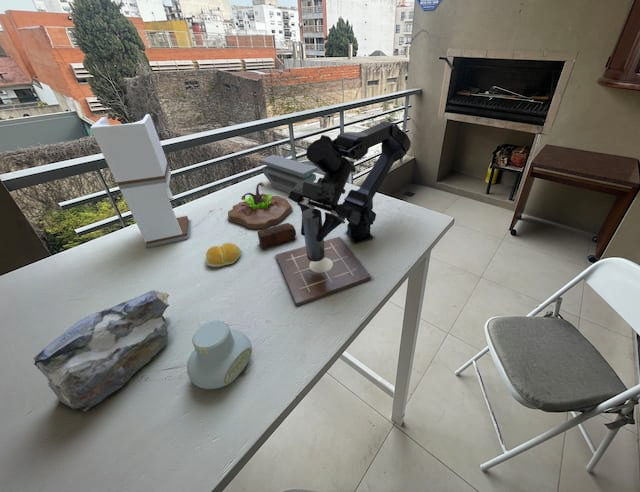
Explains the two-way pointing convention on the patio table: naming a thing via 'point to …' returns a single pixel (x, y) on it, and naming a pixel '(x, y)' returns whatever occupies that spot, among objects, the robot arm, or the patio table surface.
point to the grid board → (321, 271)
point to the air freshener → (217, 355)
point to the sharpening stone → (287, 173)
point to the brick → (276, 235)
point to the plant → (260, 210)
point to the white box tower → (142, 177)
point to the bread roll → (222, 255)
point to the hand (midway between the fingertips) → (310, 238)
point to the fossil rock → (104, 350)
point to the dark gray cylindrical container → (313, 234)
